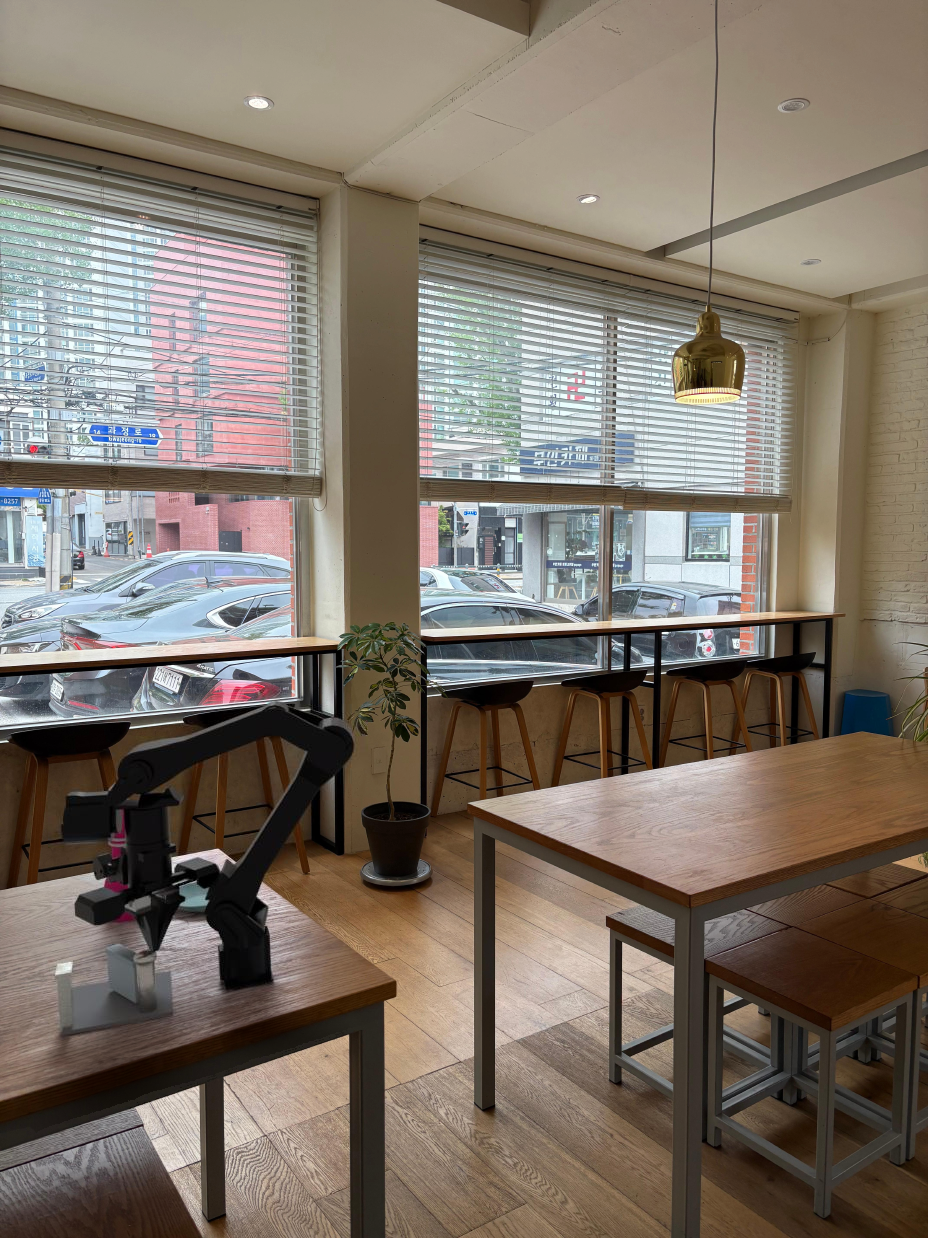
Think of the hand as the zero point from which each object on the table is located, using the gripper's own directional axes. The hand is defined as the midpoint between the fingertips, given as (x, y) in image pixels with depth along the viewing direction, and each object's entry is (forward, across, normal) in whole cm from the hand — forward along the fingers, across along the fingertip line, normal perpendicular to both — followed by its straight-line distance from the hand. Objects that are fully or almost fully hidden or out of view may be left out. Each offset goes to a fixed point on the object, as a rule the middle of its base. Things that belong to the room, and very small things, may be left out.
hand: (154, 950), depth 122 cm
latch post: (+5, +13, +1) cm, 14 cm away
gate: (+4, +5, +1) cm, 6 cm away
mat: (+5, +6, +1) cm, 7 cm away
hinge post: (+5, +5, +6) cm, 9 cm away
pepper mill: (+5, -10, -26) cm, 28 cm away
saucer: (+5, -21, -20) cm, 29 cm away
